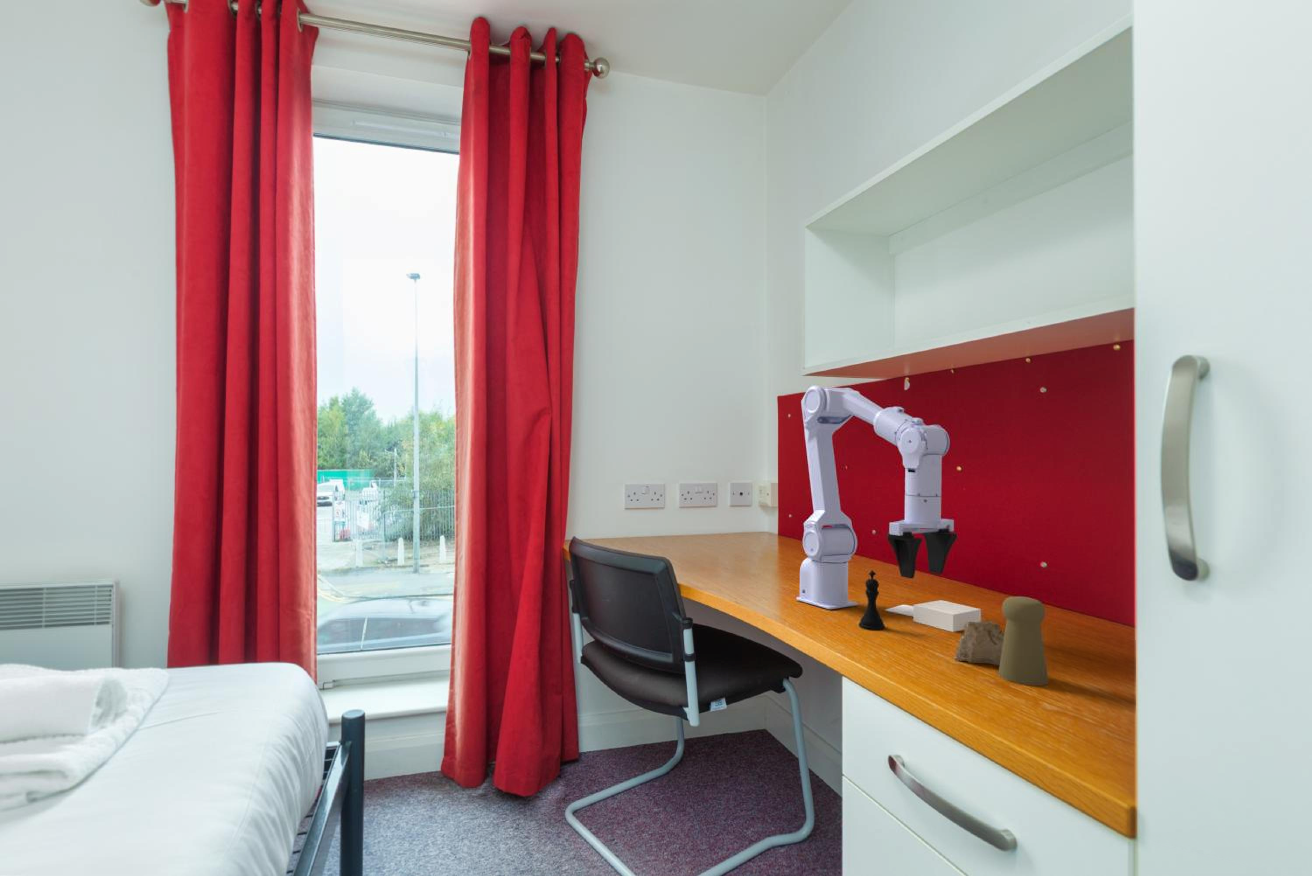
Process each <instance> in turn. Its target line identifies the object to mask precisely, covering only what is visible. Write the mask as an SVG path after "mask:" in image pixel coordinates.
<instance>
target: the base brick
mask: <svg viewBox="0 0 1312 876" xmlns="http://www.w3.org/2000/svg"><path fill="white" fill-rule="evenodd" d="M913 606H914V617H913V622H915V623H919V624H923V625H926V626H930V627H934V628H937V629H941V630H944V631H947V632H950V633H951V632H952V633H954V632H958V631H964V627H965V626H964V625H965V624H966V623H968V622H981V621H982V609H981V608H978V607H977V608H976V607H973V606H968V605H964V604H959V603H955V602H950V601H947V600H942V599H939V600H934V601H928V602H922V603H917V604H913Z"/></svg>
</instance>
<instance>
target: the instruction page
mask: <svg viewBox="0 0 1312 876" xmlns="http://www.w3.org/2000/svg"><path fill="white" fill-rule="evenodd" d="M885 612H890V613H894V614H900V615H904V616H908V617H913V618H914V605H907V604H901V605H897V606H893V607H890V608H886V609H885Z"/></svg>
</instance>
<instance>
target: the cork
mask: <svg viewBox="0 0 1312 876" xmlns="http://www.w3.org/2000/svg"><path fill="white" fill-rule="evenodd" d="M1001 611H1002V614H1003V616H1004V618H1005V619H1006V623H1005V628H1004V633H1003V634H1004V641H1003V647H1002V654H1001V660H1000V666H999V667H998V676H999V677H1000V678H1002V679H1003V680H1006V681H1008V682H1012V683H1015V684H1020V685H1026V686H1036V687H1037V686H1045V685H1048V684H1049V681H1050V680H1049V676H1048V675H1049V674H1048V668H1047V661H1046V655H1045V653H1046V652H1045V648H1044V647H1045V646H1044V641H1043V640H1044V639H1043V633H1042V626H1041V625H1042V624H1043V621H1044V620H1045V617H1046V609H1045V605H1044V604H1043V603H1042V601H1039V600H1038V599H1035V598H1031V597H1029V596H1028V597H1027V596H1020V595H1019V596H1010V597H1006V598H1005V599H1004V601H1003V602H1002V606H1001Z"/></svg>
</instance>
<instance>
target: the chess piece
mask: <svg viewBox="0 0 1312 876" xmlns="http://www.w3.org/2000/svg"><path fill="white" fill-rule="evenodd" d="M876 573H877V572H874V570H870V572H869V573H868V575H869V576H870V578H868V579H867V580H866V581H865V587H866V590H865V595H866V598H867V606H866V609H865V611H864V612H863V615H862V616H861V618H860V620H859V622H858V627H860V628H861V629H864V630H868V631H883V630H885V628H886V626H885V624H884V620H883V619H882V617H881V615H880V612H879V610H878V608H877V598H878V596H879V593H880V591H879V590H878V589H879V586H880V583H879V582H878V580H877V578H876V579H875V578H874V577H875V575H876Z"/></svg>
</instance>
